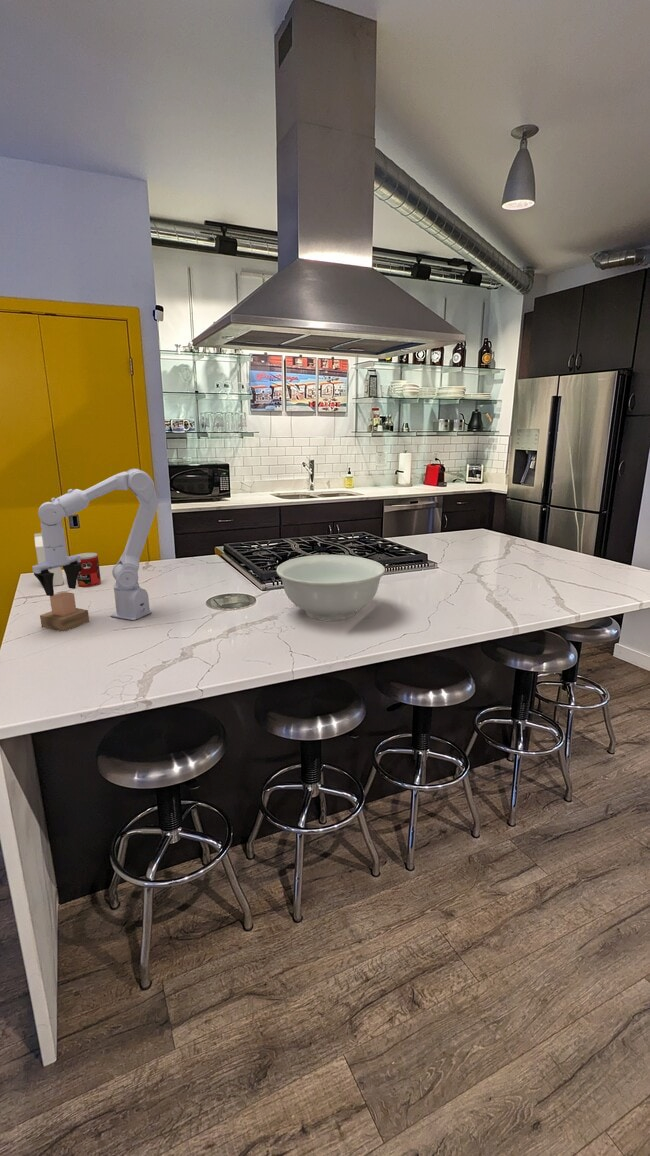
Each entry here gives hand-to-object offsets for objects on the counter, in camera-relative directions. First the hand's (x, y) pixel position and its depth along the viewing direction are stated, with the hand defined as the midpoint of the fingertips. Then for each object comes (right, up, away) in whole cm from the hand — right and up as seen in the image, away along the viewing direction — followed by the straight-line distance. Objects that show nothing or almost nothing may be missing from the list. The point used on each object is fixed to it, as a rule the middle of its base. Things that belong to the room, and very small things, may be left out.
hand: (61, 591), depth 158 cm
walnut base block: (0, -10, +3) cm, 10 cm away
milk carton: (-24, +2, +44) cm, 50 cm away
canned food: (-10, +1, +43) cm, 44 cm away
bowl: (+78, -7, +11) cm, 79 cm away
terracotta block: (0, -6, +2) cm, 6 cm away
